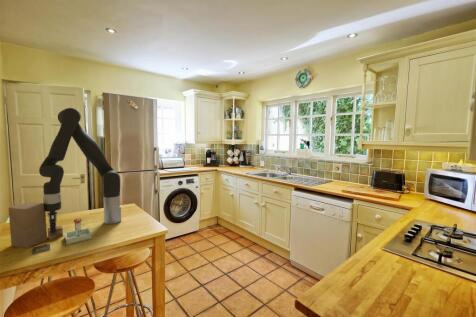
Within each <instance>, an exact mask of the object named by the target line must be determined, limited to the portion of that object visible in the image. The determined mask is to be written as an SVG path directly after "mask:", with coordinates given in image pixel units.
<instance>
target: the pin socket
mask: <svg viewBox="0 0 476 317" xmlns="http://www.w3.org/2000/svg"><path fill="white" fill-rule="evenodd" d="M47 251H48V252H49V251H51V243H46V244H42V245H37V246H33V249H32V254H33V255H34V254H38V253H39V254H40V253H44V252H47Z"/></svg>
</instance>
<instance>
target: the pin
mask: <svg viewBox="0 0 476 317" xmlns="http://www.w3.org/2000/svg"><path fill="white" fill-rule="evenodd" d="M73 223H74V231H75V235H76V237H78V236H81V229H82V226H81V225H82V224H81V223H82V218H75V219H73Z"/></svg>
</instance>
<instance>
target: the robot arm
mask: <svg viewBox="0 0 476 317" xmlns="http://www.w3.org/2000/svg"><path fill="white" fill-rule="evenodd" d="M57 119H58V122H59V124H60V128H59V130H58V132H57V134H56V136H55V138H54V139H53V142H52V144H51V145H50V149H49V151H48V155H47V156H46V157H45V159H44V160H43V161H42V163H41V165H40V166H39V169H38V172H39V175H40V176H41V177H43V178H50V179H49V181H46V182H44V183H43V187H42V188H43V196H42V203H43V204H44V211H45V213H46V212H47V219H48V223H49V228H50V233H55V232H56V226H57V221H58V211H60V210H61V209H62V195H61V184H62V183H63V182H62V181H63V178H64V174H65V170H64V167H63V166H62V165H60V164H57V163H59V162H63V161H64V160H65V157H66V154H67V152H68V150H69V149H68V148H69V146H70V142H71V139H73V140H74V142H75V143H76V145H77V146H78V147H79V150H80V151H81V152H82V153H83V155H84V156H85V158H86V159H87V161H89V162H90V163H91V164H92V166H94V168H95V169H96V170H97V172H98V174H99V176H100V177H101V179H102V181H103V182H102V183H103V193H102V196H103V198H102V199H103V221H104V222H103V223H104V224H106V225H114V224H117V223H120V222H122V206H121V176H120V175H119V173H118V172H116V171H115V169H114V168H113V167H112V166H111V165H110V163H109V162H108V160H107V158H106V156H105V154H104V152H103V150H102V148H101V147H100V146H99V144H98V142H97V141H96V140H95V139H94V138H93V137H92V136H91V135H89V133H87V132H86V131H85V130H84V129H83V127H82V125H81V124H80V121H81V119H82V116H81V113H80V111H79V110H78V109H76V108H74V107H67V108H64V109H63V110H61V111H59V112H58V114H57Z"/></svg>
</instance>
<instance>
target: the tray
mask: <svg viewBox="0 0 476 317" xmlns="http://www.w3.org/2000/svg"><path fill="white" fill-rule="evenodd" d="M64 237H65V239H64V240H65V244H66V246H68V245H69V246H70V245H74V244H78V243H82V242H85V241H89V240H93V236H92V231H91V229H90V227H85V228H81V236H78V237H76V235H75V230H72V231H71V230H70V231H66V232H65V233H64Z"/></svg>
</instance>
